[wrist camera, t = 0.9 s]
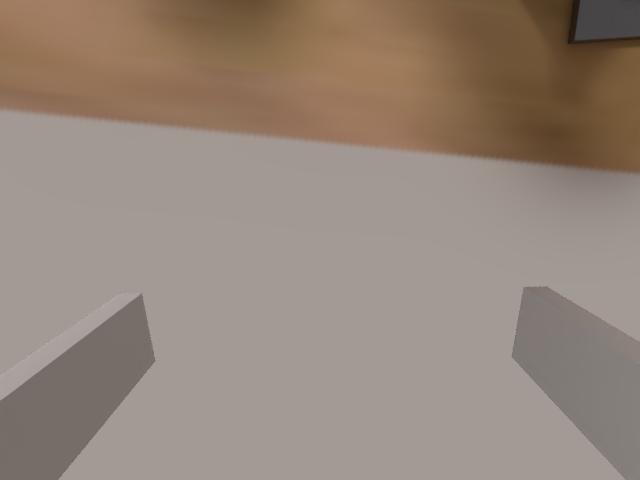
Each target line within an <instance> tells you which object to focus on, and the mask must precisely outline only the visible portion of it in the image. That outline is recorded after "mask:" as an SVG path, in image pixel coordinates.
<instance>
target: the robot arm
mask: <svg viewBox="0 0 640 480" xmlns="http://www.w3.org/2000/svg"><path fill="white" fill-rule="evenodd" d="M512 357H513V359H514V360H515V361H516V362H517V363H518V364H519V365H520V366H521V367H522V368H523V369H524V370H525V372H526V373H527V374H528V375H529V376H530V377H531V378H532V379H533V380H534V381H535V382H536V383H537V384H538V385H539V386H540V388H541V389H542V390H543V391H544V392H545V393H546V394H547V395H548V396H549V397H550V398H551V400H552V401H553V402H554V403H555V404H556V405H557V406H558V407H559V408H560V409H561V410H562V411H563V413H564V414H565V415H566V416H567V417H568V418H569V419H570V420H571V421H572V422H573V423H574V424H575V425H576V427H578V429H579V430H580V431H581V432H582V433H583V434H584V435H585V436H586V437H587V438H588V439H589V441H590V442H592V444H593V445H594V446H595V447H596V448H597V449H598V450H599V451H600V452H601V453H602V455H603V456H604V457H606V459H607V460H608V461H609V462H610V463H611V464H612V465H613V466H614V467H615V469H617V471H618V472H619V473H620V474H621V475H622V476H623V477H624V478H625V479H626V480H640V342H639V341H637V340H635V339H634V338H632V337H630V336H628V335H627V334H625V333H623V332H622V331H620V330H618V329H617V328H615V327H613V326H612V325H610V324H608V323H607V322H605V321H603V320H602V319H600V318H598V317H597V316H595V315H593V314H591V313H590V312H588V311H586V310H585V309H583V308H581V307H580V306H578V305H576V304H575V303H573V302H571V301H569V300H568V299H566V298H565V297H563V296H561V295H559V294H558V293H556V292H554V291H553V290H551V289H549V288H547V287H524V288H523V294H522V300H521V306H520V312H519V318H518V323H517V329H516V335H515V341H514V347H513V353H512ZM154 362H155V357H154V352H153V348H152V343H151V337H150V333H149V327H148V323H147V317H146V312H145V307H144V302H143V296H142V293H127V294H126V293H124V294H119V295H117V296H116V297H114V298H113V299H111V300H110V301H108V302H107V303H106V304H104V305H103V306H101V307H100V308H98V309H97V310H95V311H94V312H92V313H91V314H89V315H88V316H86V317H85V318H83V319H82V320H81V321H79V322H78V323H76V324H75V325H73V326H72V327H70V328H69V329H67V330H66V331H65V332H63V333H62V334H60V335H59V336H57V337H56V338H54V339H53V340H51V341H50V342H48V343H47V344H45V345H44V346H42V347H41V348H39V349H38V350H36V351H35V352H34V353H32V354H31V355H29V356H28V357H26V358H25V359H23V360H22V361H20V362H19V363H17V364H16V365H14V366H13V367H12V368H10V369H9V370H7V371H6V372H4V373H3V374H1V375H0V480H58V479H59V478H60V477H61V476H62V474H63V473H64V472H65V471H66V469H67V468H68V467H69V466H70V464H71V463H72V462H73V461H74V460H75V458H76V457H77V456H78V455H79V454H80V452H81V451H82V450H83V449H84V447H85V446H86V445H87V444H88V442H89V441H90V440H91V439H92V438H93V436H94V435H95V434H96V433H97V432H98V430H99V429H100V428H101V427H102V425H103V424H104V423H105V422H106V421H107V419H108V418H109V417H110V415H111V414H112V413H113V412H114V411H115V410H116V408H117V407H118V406H119V405H120V403H121V402H122V401H123V400H124V399H125V397H126V396H127V395H128V394H129V392H130V391H131V390H132V389H133V388H134V386H135V385H136V384H137V382H138V381H139V380H140V379H141V378H142V377H143V375H144V374H145V373H146V371H147V370H148V369H149V368H150V367H151V366H152V364H153V363H154Z"/></svg>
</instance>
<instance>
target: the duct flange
mask: <svg viewBox="0 0 640 480" xmlns="http://www.w3.org/2000/svg"><path fill="white" fill-rule="evenodd" d="M629 39H640V0H574V4H573V11H572V19H571V26H570V33H569V40H568V44H569V43H584V42H599V41H614V40H629Z"/></svg>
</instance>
